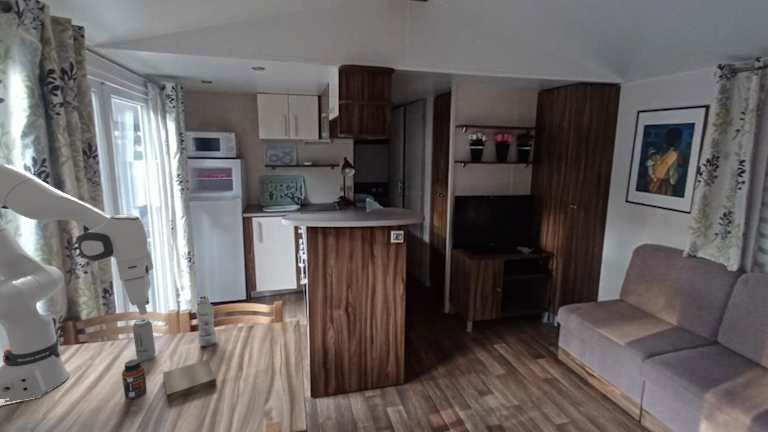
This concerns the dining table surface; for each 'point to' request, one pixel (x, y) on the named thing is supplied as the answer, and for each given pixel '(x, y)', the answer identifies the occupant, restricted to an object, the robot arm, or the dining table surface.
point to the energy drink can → (144, 339)
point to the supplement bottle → (134, 379)
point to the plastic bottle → (206, 322)
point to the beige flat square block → (188, 380)
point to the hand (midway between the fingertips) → (145, 309)
